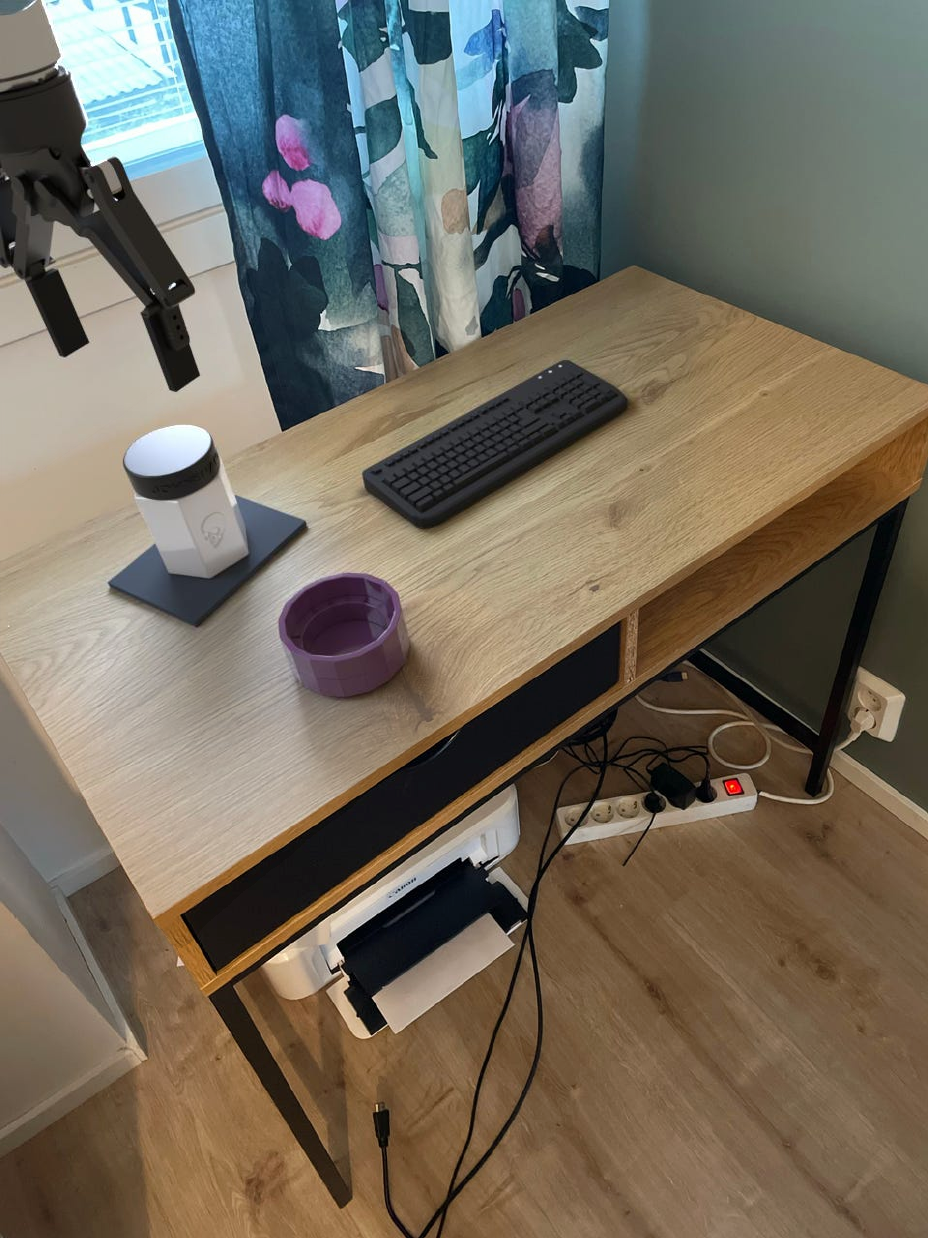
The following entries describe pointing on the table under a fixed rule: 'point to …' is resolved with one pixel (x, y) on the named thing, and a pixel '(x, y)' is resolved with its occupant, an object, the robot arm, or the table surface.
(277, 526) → the placemat
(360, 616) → the bowl
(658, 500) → the table surface
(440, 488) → the keyboard
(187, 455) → the jar
